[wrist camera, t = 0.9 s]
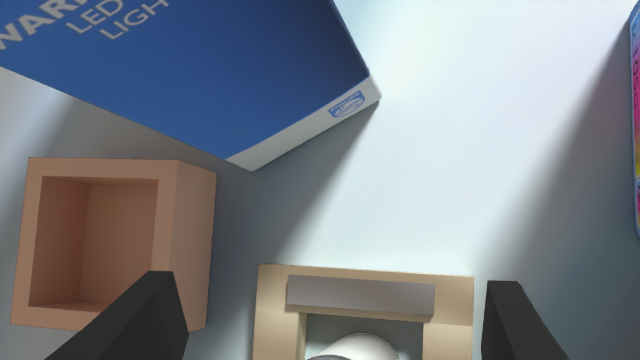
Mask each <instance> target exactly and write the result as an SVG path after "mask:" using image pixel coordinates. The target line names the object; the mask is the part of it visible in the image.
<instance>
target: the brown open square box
mask: <svg viewBox="0 0 640 360" xmlns="http://www.w3.org/2000/svg"><path fill="white" fill-rule="evenodd" d="M216 184H217V173H215V172H212V171H209V170H206V169H203V168H200V167H197V166H194V165H192V164H189V163H186V162H183V161H180V160H156V159H101V158H45V157H29V160H28V168H27V177H26V186H25V195H24V204H23V212H22V221H21V230H20V239H19V248H18V257H17V265H16V274H15V283H14V292H13V301H12V309H11V318H10V324H14V325H24V326H34V327H44V328H54V329H65V330H75V331H81V330H82V329H83V328H84V327H85V326H86V325H88V324H89V323H90V322H91V321H92V320H93V319H94V318H96V317H97V316H98V315H99V314H100V313H101V312H102V311H104V310H105V309H106V308H107V307H108V306H109V305H110V304H111V303H113V302H114V301H115V300H116V299H117V298H118V297H119V296H120V295H121V294H123V293H124V292H125V291H126V290H127V289H128V288H129V287H130V286H131V285H133V284H134V283H135V282H136V281H137V280H138V279H139V278H140V277H142V276H143V275H144V274H145V273H146V272H147V271H173V273H174V277H175V281H176V285H177V289H178V293H179V297H180V301H181V305H182V309H183V313H184V317H185V320H186V324H187V328H188V332H192V331H196V330H199V329H203V328H206V316H207V303H208V290H209V277H210V263H211V250H212V237H213V224H214V210H215V197H216Z"/></svg>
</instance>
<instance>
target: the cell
mask: <svg viewBox="0 0 640 360" xmlns="http://www.w3.org/2000/svg"><path fill="white" fill-rule="evenodd" d="M308 360H401V359H400V357H399V355H398V353H397V352H396V351H395V349H394V348H393V347H392V346H391V345H390V344H389V343H388V342H387V341H385V340H384V339H382V338H380V337H378V336H376V335H373V334H369V333H353V334H349V335H347V336H344V337H342V338H341V339H339V340H338V341H336V342H334V343H333V344H331V345H330V346H328V347H327V348H325V349H324V350H322V351H320V352H319V353H317V354H316V355H314V356H313V357H311V358H310V359H308Z"/></svg>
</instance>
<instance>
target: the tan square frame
mask: <svg viewBox="0 0 640 360" xmlns="http://www.w3.org/2000/svg"><path fill="white" fill-rule="evenodd" d="M473 298H474V276H460V275H444V274H427V273H411V272H395V271H379V270H363V269H346V268H330V267H314V266H298V265H282V264H259V265H258V281H257V296H256V311H255V326H254V341H253V357H252V360H305V345H306V327H307V313H313V314H325V315H337V316H349V317H362V318H374V319H386V320H398V321H411V322H423V323H424V327H423V357H422V360H472V340H473Z"/></svg>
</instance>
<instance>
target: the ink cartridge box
mask: <svg viewBox="0 0 640 360" xmlns="http://www.w3.org/2000/svg"><path fill="white" fill-rule="evenodd" d="M629 36H630V65H631V103H632V142H633V174H634V202H635V221H636V230H637V234H638V237H639V238H640V0H638V2H637V3H636V5H635V7H634V8H633V10H632V12H631V14H630V16H629Z"/></svg>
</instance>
